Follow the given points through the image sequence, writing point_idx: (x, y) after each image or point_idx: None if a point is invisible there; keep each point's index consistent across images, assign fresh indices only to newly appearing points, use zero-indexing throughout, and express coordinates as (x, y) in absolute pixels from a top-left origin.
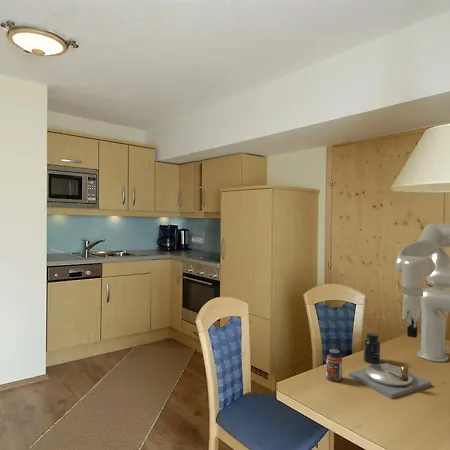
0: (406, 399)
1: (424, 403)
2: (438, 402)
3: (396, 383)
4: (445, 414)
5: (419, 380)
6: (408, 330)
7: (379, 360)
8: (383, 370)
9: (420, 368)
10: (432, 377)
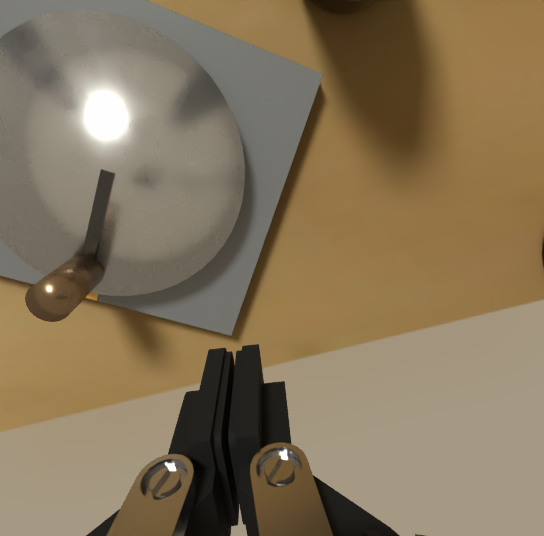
0: (4, 298)
1: (38, 357)
2: (97, 387)
3: (18, 250)
4: (22, 426)
5: (207, 296)
6: (201, 407)
7: (346, 11)
8: (112, 131)
9: (409, 233)
10: (332, 305)
